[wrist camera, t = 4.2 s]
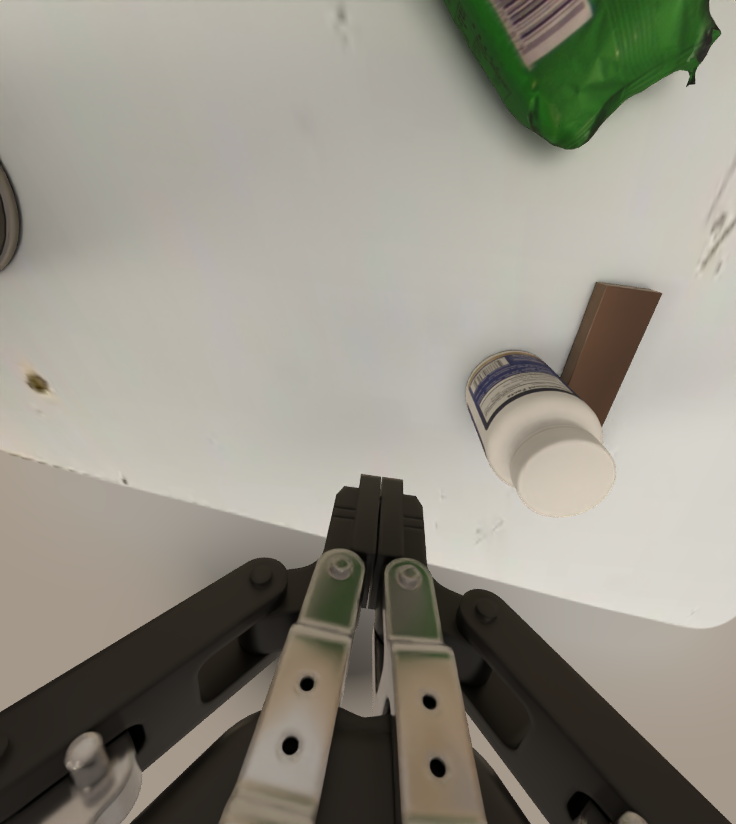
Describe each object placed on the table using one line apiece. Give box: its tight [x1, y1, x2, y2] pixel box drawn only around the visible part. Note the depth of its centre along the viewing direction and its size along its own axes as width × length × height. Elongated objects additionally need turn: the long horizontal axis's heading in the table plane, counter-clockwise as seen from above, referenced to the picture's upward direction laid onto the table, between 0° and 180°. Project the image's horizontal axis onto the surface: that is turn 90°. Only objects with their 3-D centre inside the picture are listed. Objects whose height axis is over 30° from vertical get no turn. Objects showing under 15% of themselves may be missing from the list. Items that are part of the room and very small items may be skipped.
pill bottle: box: [466, 351, 616, 517], centre depth 21 cm, size 5×5×10 cm
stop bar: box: [561, 282, 662, 428], centre depth 24 cm, size 3×12×1 cm, turn 173°
